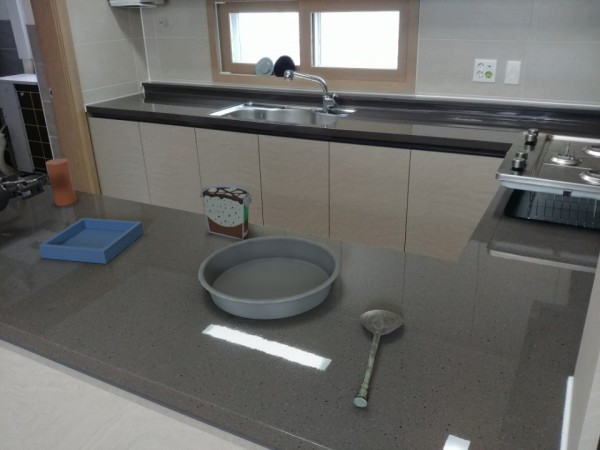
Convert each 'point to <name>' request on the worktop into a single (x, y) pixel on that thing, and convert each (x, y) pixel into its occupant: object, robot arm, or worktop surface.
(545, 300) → the worktop surface
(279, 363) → the worktop surface
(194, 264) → the worktop surface
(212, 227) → the food container
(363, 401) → the soupspoon
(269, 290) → the cake pan
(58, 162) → the orange cylinder
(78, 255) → the tray
